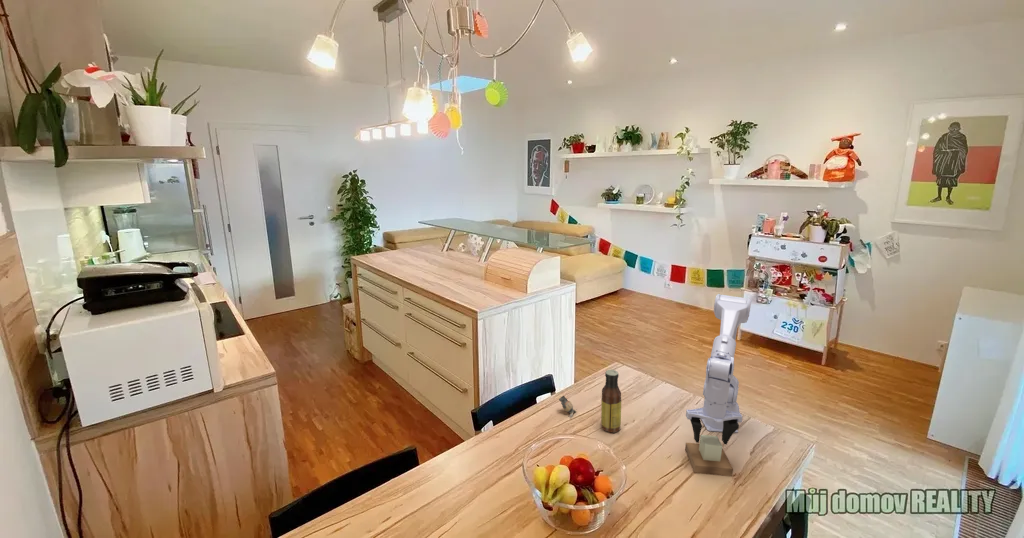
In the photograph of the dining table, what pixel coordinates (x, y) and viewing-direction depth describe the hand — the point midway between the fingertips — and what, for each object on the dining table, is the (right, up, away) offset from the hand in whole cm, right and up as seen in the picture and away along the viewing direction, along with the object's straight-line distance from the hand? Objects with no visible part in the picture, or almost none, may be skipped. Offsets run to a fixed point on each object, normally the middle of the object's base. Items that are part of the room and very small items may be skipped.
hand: (710, 441), depth 122 cm
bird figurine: (-38, -1, +26) cm, 46 cm away
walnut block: (0, -7, +2) cm, 8 cm away
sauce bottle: (-25, -3, +18) cm, 30 cm away
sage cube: (0, -4, +1) cm, 5 cm away
